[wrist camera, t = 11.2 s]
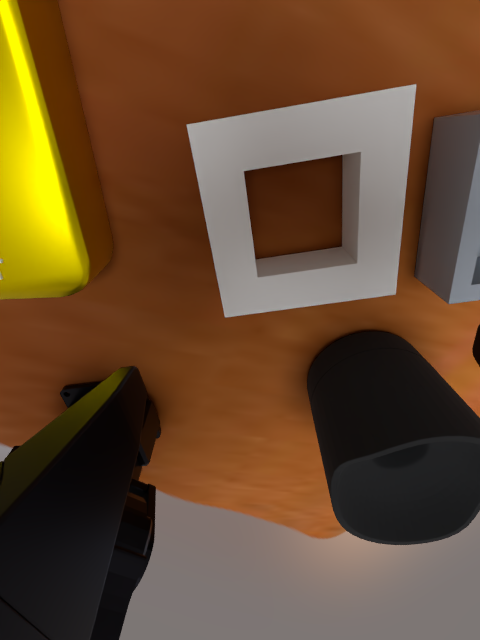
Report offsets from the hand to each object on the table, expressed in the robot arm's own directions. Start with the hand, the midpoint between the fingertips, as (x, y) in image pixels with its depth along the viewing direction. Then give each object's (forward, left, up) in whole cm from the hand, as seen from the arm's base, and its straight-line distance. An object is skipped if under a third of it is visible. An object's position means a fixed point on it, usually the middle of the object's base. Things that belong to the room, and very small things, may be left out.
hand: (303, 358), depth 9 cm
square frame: (+2, +1, -13) cm, 13 cm away
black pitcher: (+6, -12, -13) cm, 19 cm away
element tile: (-16, +7, -14) cm, 22 cm away
